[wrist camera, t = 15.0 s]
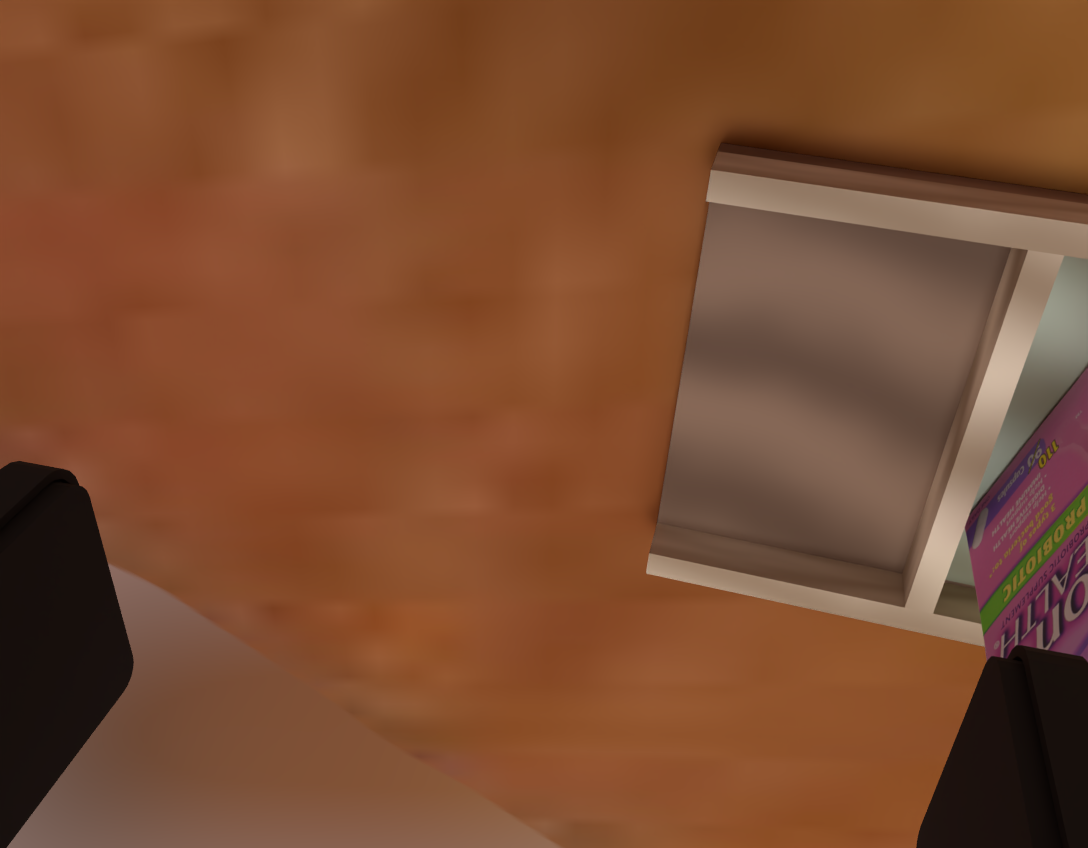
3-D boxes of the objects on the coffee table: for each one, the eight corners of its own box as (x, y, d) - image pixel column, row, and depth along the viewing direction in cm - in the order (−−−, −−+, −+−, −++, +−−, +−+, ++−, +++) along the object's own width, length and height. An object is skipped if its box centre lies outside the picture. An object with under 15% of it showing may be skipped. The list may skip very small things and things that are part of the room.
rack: (720, 142, 33) (711, 169, 31) (1397, 238, 30) (1447, 277, 27) (657, 527, 42) (646, 573, 39) (1179, 636, 38) (1202, 693, 36)
